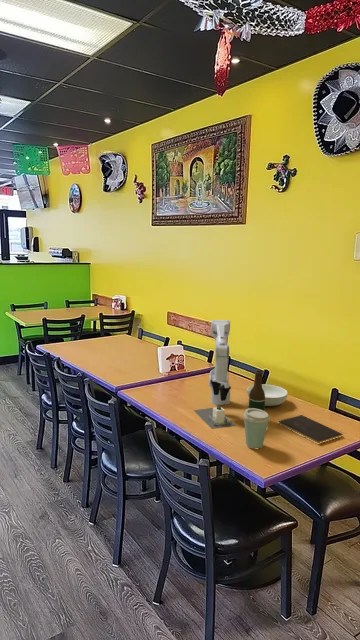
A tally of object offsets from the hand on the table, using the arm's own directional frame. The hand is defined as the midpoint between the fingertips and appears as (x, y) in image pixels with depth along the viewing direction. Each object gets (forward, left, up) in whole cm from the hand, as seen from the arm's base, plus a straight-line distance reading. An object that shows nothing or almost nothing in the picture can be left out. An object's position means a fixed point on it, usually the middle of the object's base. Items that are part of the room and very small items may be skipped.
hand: (219, 397), depth 199 cm
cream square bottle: (+4, +8, -8) cm, 12 cm away
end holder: (+4, +8, -9) cm, 13 cm away
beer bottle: (-15, +9, -10) cm, 20 cm away
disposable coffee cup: (-1, +32, -10) cm, 33 cm away
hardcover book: (-33, +26, -10) cm, 43 cm away
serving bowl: (-32, -9, -10) cm, 35 cm away
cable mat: (+4, +3, -9) cm, 11 cm away
